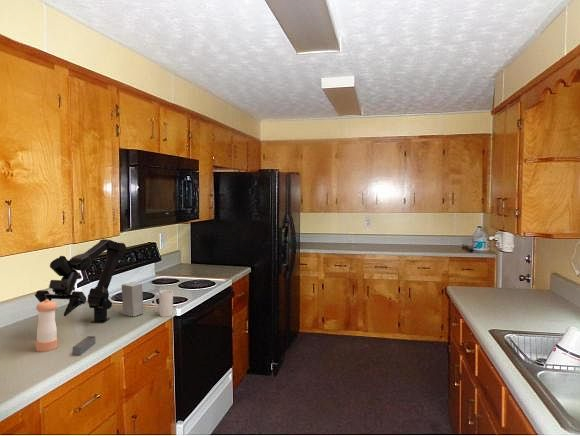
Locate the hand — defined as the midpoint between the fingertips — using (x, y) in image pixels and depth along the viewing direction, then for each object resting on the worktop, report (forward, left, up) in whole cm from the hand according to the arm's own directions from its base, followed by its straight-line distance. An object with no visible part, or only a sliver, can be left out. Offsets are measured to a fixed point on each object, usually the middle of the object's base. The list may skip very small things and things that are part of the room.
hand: (52, 315), depth 161 cm
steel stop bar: (+4, +15, -12) cm, 19 cm away
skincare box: (-42, +16, -12) cm, 46 cm away
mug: (-43, +31, -12) cm, 54 cm away
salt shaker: (+4, 0, -12) cm, 13 cm away
